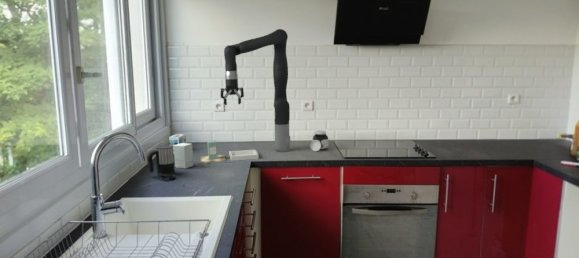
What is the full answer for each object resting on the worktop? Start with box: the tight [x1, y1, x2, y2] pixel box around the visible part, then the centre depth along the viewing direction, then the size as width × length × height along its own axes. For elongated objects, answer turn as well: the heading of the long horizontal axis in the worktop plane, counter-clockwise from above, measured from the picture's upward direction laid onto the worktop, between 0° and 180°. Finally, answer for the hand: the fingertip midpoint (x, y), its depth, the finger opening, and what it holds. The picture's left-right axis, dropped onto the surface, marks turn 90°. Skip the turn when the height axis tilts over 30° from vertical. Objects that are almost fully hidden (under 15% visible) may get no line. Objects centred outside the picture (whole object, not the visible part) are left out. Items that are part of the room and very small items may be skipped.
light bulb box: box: [168, 133, 187, 154], centre depth 269 cm, size 11×7×11 cm, turn 168°
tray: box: [228, 149, 260, 162], centre depth 250 cm, size 16×14×3 cm
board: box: [200, 154, 227, 165], centre depth 247 cm, size 14×14×1 cm
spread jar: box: [309, 130, 330, 152], centre depth 267 cm, size 12×11×12 cm
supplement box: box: [174, 142, 195, 170], centre depth 232 cm, size 7×7×13 cm
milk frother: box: [146, 144, 176, 180], centre depth 214 cm, size 14×16×15 cm
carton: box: [207, 140, 219, 160], centre depth 246 cm, size 5×5×10 cm
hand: (232, 104), depth 262 cm, fingers open, 8 cm apart
